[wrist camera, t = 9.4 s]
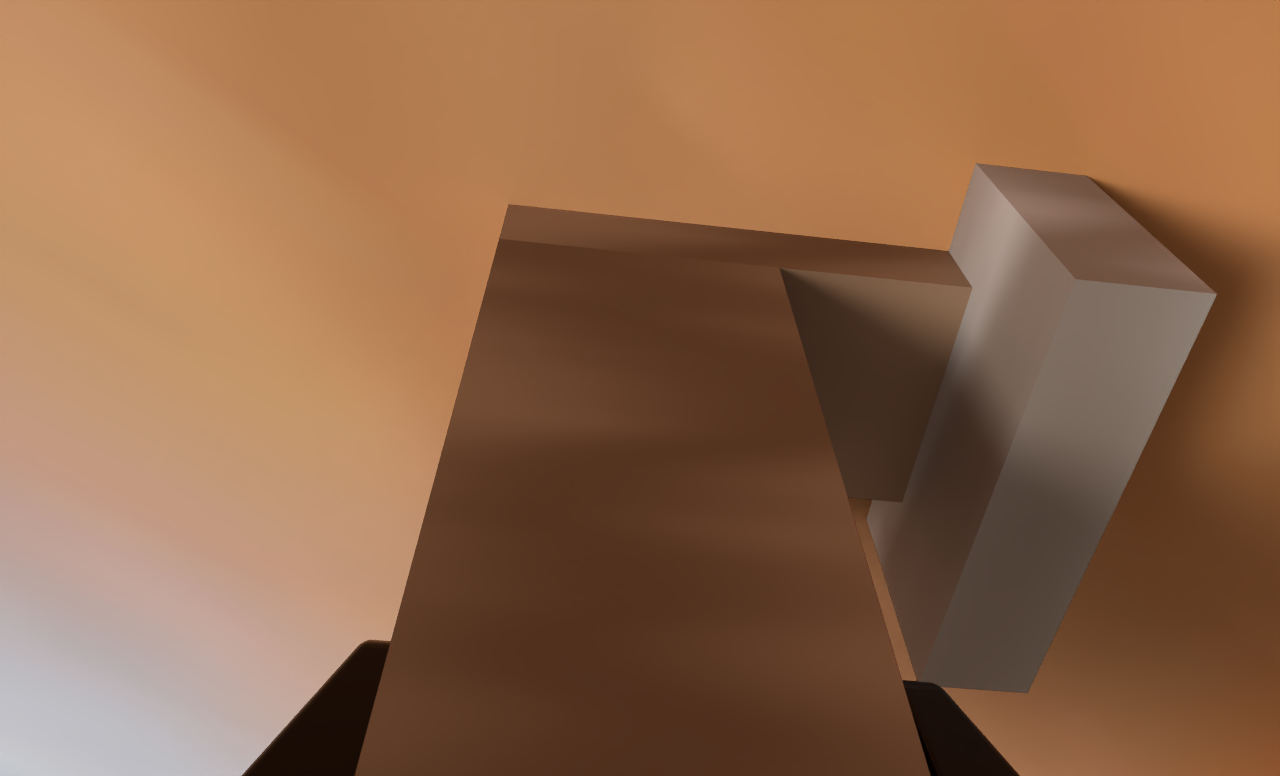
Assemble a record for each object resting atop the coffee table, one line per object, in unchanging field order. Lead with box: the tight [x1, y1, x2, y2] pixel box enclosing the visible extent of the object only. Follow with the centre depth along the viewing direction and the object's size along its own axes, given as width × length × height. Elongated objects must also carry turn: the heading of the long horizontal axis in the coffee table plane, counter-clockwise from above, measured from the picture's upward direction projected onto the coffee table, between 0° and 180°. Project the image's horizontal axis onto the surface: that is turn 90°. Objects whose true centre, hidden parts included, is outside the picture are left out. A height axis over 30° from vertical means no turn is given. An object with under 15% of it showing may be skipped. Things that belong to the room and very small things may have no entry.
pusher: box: [355, 163, 1217, 776], centre depth 11 cm, size 8×6×9 cm
